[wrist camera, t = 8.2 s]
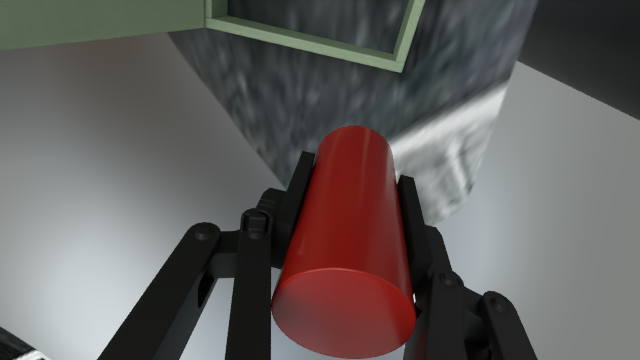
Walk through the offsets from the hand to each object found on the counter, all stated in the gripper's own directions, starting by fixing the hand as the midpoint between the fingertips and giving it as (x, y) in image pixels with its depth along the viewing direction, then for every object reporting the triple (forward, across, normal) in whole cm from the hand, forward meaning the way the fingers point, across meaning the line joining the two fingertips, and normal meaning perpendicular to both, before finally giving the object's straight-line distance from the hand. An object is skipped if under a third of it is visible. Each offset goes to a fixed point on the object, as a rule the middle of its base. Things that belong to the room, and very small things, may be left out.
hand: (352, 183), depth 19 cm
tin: (+3, 0, 0) cm, 3 cm away
